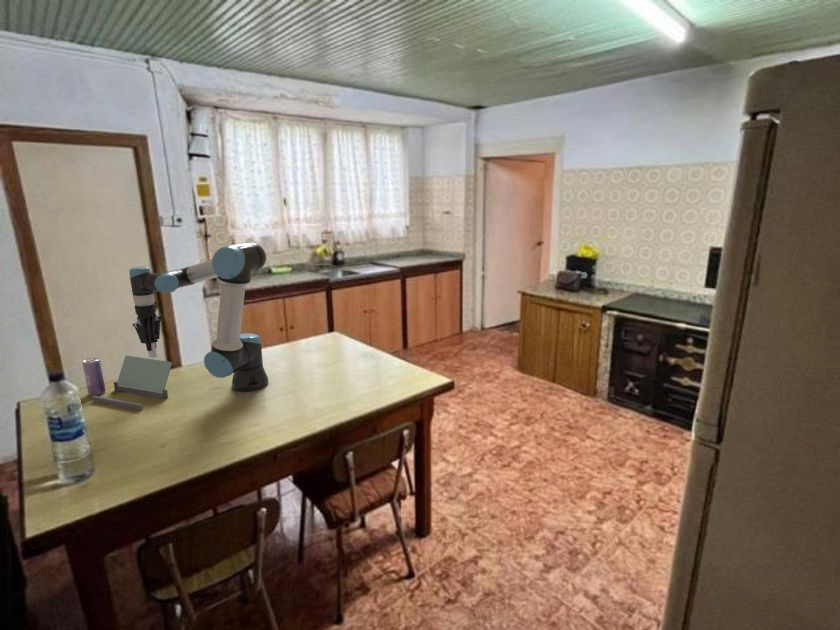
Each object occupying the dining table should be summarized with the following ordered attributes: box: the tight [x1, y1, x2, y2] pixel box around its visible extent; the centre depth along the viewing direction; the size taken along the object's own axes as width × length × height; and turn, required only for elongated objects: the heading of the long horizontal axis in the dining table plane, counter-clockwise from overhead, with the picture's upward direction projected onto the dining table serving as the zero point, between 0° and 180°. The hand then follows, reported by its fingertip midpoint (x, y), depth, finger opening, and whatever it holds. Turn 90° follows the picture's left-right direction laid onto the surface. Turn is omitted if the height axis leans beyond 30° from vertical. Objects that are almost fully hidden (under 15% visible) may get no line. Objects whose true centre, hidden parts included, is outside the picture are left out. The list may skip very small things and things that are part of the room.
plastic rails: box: [92, 381, 169, 411], centre depth 185 cm, size 27×12×4 cm, turn 74°
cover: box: [116, 355, 173, 392], centre depth 192 cm, size 24×13×1 cm
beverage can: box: [82, 357, 107, 397], centre depth 189 cm, size 6×6×15 cm
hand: (153, 356), depth 196 cm, fingers closed
